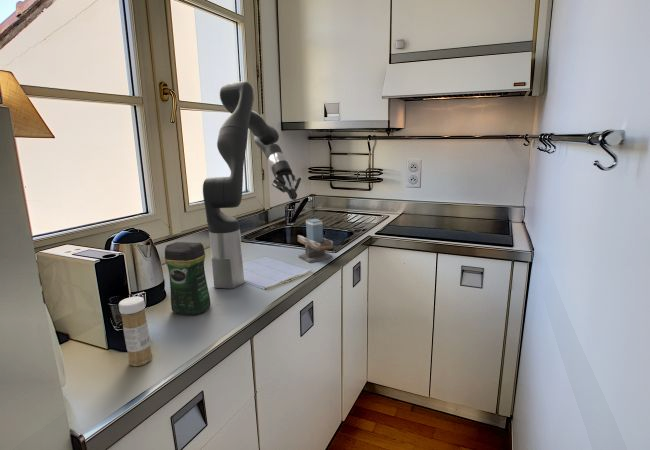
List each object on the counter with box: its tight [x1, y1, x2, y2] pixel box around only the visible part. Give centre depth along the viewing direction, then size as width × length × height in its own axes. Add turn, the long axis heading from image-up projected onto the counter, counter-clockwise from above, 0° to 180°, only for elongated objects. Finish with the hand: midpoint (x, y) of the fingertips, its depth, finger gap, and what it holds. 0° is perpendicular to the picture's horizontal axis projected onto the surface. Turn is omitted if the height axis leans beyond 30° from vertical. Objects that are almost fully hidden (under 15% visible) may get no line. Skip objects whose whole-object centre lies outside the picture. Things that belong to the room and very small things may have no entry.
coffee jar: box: [164, 241, 212, 316], centre depth 99 cm, size 10×8×19 cm
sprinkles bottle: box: [118, 296, 153, 367], centre depth 77 cm, size 5×5×14 cm
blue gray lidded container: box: [305, 218, 324, 243], centre depth 140 cm, size 5×4×8 cm
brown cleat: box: [297, 234, 334, 264], centre depth 141 cm, size 16×10×8 cm, turn 32°
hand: (294, 198), depth 150 cm, fingers closed
